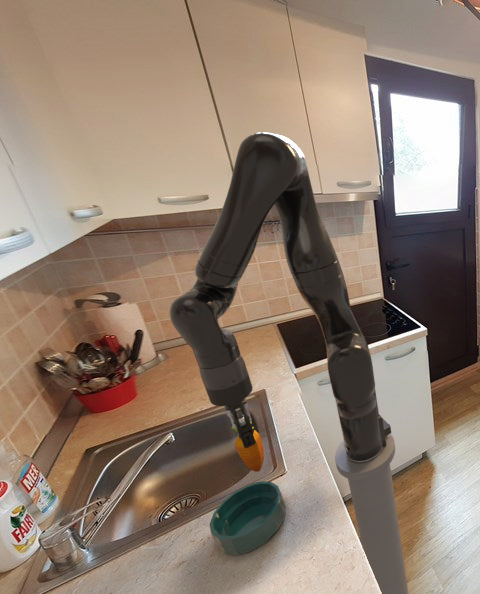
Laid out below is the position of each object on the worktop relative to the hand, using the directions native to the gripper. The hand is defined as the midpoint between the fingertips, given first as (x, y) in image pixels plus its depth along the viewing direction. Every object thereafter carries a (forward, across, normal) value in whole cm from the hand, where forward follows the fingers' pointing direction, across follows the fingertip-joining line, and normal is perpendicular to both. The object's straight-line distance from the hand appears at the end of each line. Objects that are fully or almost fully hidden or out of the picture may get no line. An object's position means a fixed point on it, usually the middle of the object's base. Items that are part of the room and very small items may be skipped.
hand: (247, 438), depth 76 cm
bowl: (+13, -12, +4) cm, 18 cm away
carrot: (+11, 0, 0) cm, 11 cm away
